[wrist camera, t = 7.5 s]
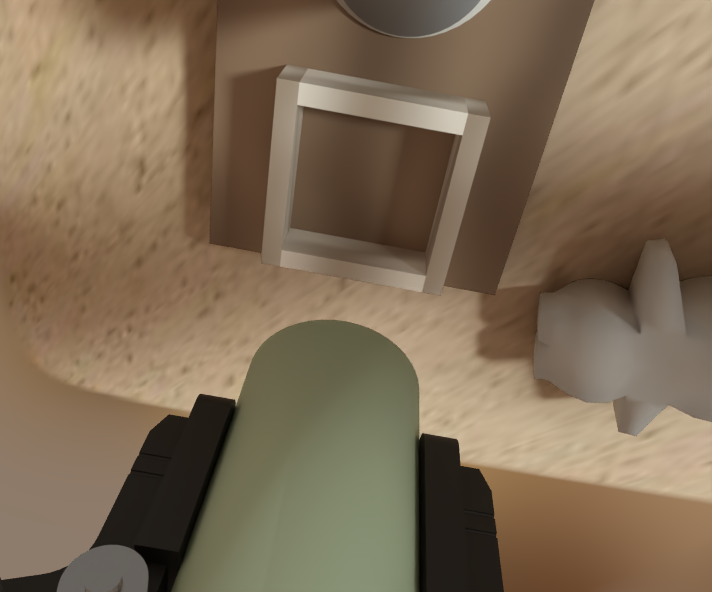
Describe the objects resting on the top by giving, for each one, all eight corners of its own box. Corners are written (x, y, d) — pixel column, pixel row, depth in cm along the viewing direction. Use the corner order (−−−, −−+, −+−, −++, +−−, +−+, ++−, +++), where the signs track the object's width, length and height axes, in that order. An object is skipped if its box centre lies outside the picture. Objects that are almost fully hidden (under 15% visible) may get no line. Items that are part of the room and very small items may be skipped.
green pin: (436, 337, 14) (456, 773, 7) (400, 462, 16) (387, 885, 9) (254, 305, 14) (94, 714, 7) (243, 435, 16) (114, 841, 9)
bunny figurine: (548, 274, 25) (1000, 295, 22) (543, 218, 29) (921, 228, 26) (529, 445, 30) (893, 481, 27) (527, 376, 34) (842, 400, 31)
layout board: (650, -204, 20) (805, -265, 12) (491, 277, 30) (517, 420, 22) (239, -284, 19) (116, -400, 12) (218, 228, 29) (144, 354, 21)
